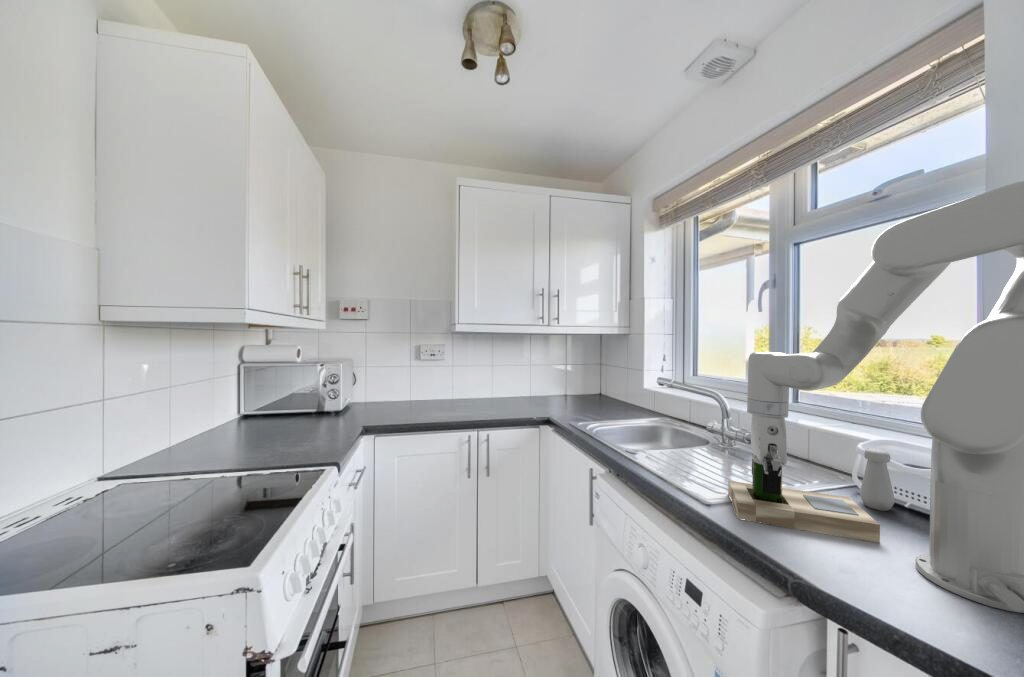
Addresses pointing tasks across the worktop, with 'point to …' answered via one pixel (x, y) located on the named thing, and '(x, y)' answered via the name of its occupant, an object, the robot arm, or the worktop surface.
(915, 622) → the worktop surface
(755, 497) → the beer can
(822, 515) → the can block
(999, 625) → the worktop surface
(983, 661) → the worktop surface
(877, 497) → the salt shaker
